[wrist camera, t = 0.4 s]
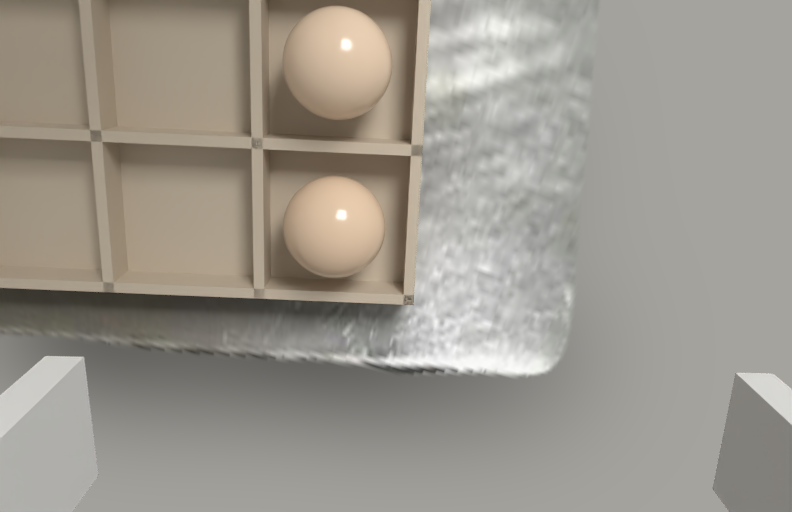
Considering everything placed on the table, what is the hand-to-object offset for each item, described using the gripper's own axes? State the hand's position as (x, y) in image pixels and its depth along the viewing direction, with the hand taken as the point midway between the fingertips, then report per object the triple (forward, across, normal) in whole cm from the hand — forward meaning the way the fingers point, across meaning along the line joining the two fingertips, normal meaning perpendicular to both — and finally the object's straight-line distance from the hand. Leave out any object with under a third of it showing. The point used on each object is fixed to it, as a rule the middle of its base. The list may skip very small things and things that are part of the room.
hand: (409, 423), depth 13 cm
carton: (+27, -12, +2) cm, 29 cm away
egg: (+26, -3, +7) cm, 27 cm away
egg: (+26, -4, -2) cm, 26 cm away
